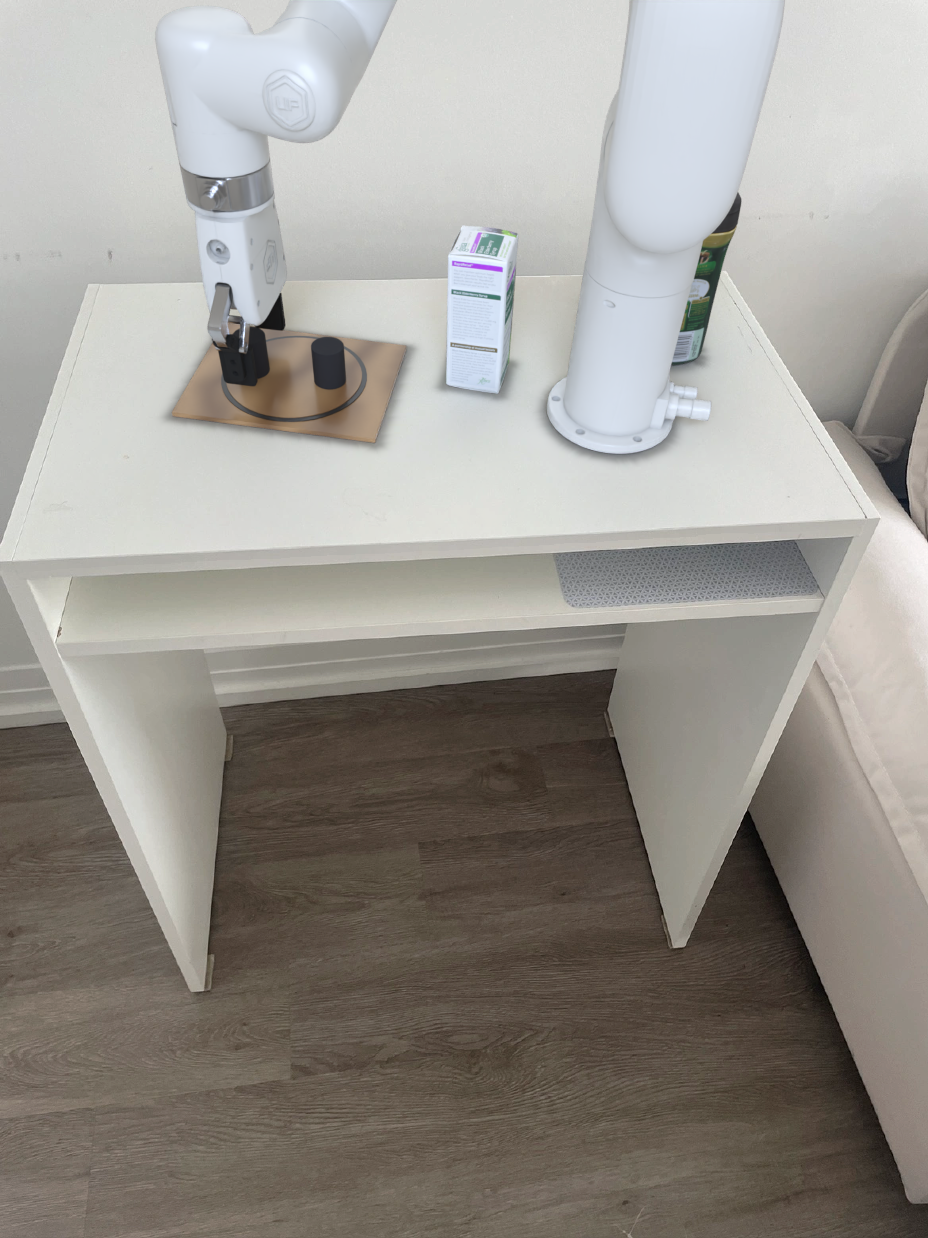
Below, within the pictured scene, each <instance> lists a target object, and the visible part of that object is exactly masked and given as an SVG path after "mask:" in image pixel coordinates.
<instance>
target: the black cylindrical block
mask: <svg viewBox="0 0 928 1238" xmlns="http://www.w3.org/2000/svg"><path fill="white" fill-rule="evenodd" d="M311 353H312V363H313V374H314V382H315V384H316V385H317V386H318V387H320V388H322V389H327V390H332V389H337V388H340V387H342V386H343V385H344V384H345V382H346V370H345V355H344V344H343V342H342V341H341V340H339V339H337V338H334V337H321V338H318V339H316V340H314V341H313V342H312V344H311Z"/></svg>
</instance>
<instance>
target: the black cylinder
mask: <svg viewBox="0 0 928 1238" xmlns="http://www.w3.org/2000/svg"><path fill="white" fill-rule="evenodd" d="M239 332H240V329H237V330H236V331H235V332H234V333H233V335H235V336H236V337H237V338H239ZM248 347H251V348H252V349H253V355H254V361H255V367H256V373H257V379H260V378H262V377H265V376H266V375H267V374H268V373H269V371H270V366H269V359H268V352H267V345H266V337H265V333H264V331H263V330H261V329H260V328H257V327H250V329H249V341H248Z"/></svg>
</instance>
